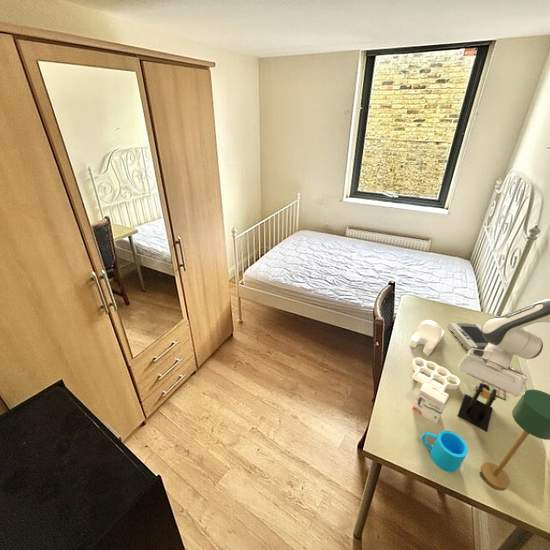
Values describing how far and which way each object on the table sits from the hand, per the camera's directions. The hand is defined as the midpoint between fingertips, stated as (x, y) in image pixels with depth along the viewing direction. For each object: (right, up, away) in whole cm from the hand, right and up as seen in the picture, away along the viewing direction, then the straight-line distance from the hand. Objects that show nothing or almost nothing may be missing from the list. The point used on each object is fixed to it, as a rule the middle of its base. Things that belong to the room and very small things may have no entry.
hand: (481, 393), depth 110 cm
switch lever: (-3, +1, -5) cm, 6 cm away
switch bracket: (-5, -6, -4) cm, 9 cm away
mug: (-26, -13, -17) cm, 33 cm away
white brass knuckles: (-13, +2, +10) cm, 17 cm away
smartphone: (+10, 0, +8) cm, 13 cm away
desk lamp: (-12, -16, -22) cm, 30 cm away
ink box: (-23, -6, -4) cm, 24 cm away
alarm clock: (+19, +14, +32) cm, 39 cm away
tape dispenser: (-5, +13, +30) cm, 33 cm away
